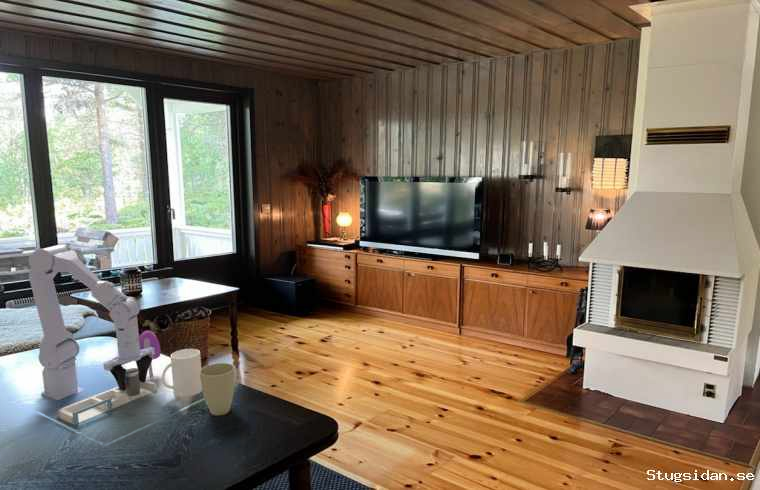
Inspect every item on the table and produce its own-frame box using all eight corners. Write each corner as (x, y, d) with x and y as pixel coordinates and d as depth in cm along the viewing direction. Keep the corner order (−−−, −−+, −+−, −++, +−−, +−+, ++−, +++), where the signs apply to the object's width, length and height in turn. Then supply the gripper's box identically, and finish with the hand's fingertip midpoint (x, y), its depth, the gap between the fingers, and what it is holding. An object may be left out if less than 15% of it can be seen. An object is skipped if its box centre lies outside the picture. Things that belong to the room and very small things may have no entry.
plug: (123, 394, 153) (121, 371, 152) (135, 389, 156) (133, 367, 155) (131, 397, 151) (129, 374, 150) (143, 392, 154) (140, 369, 153)
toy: (166, 374, 168) (163, 329, 166) (148, 382, 162) (143, 335, 160) (154, 370, 172) (150, 326, 169) (135, 377, 166) (130, 332, 164)
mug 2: (246, 409, 144) (244, 367, 142) (213, 422, 136) (210, 379, 135) (225, 397, 151) (222, 357, 149) (192, 409, 144) (189, 368, 142)
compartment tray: (58, 419, 140) (56, 405, 139) (141, 386, 160) (140, 373, 159) (75, 427, 135) (73, 413, 135) (158, 392, 155) (157, 379, 155)
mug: (169, 405, 147) (166, 364, 145) (157, 396, 153) (153, 357, 151) (209, 391, 155) (206, 353, 153) (195, 383, 161) (192, 346, 159)
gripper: (111, 351, 143) (116, 398, 145) (159, 335, 155) (163, 379, 157) (97, 346, 147) (102, 392, 149) (145, 331, 159) (149, 374, 161)
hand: (132, 385), depth 153 cm, fingers open, 6 cm apart
